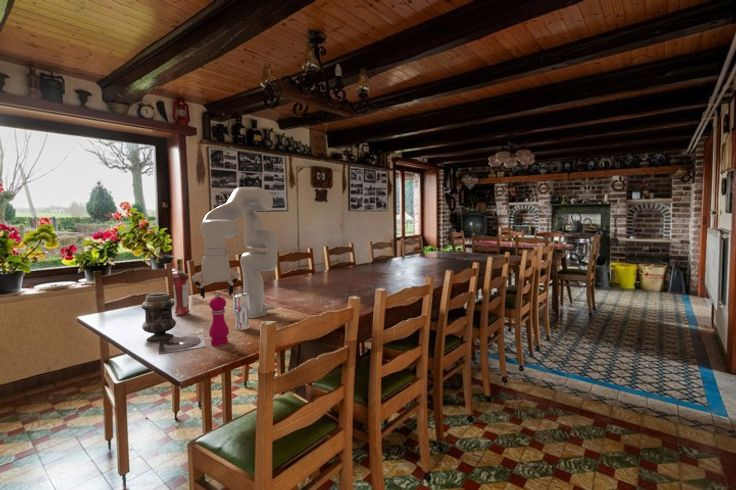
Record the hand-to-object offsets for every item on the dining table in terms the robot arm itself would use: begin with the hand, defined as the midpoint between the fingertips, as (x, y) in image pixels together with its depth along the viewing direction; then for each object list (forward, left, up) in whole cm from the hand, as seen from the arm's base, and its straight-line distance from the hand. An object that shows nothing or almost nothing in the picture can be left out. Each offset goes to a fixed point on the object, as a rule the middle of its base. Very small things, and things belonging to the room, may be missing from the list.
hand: (217, 296), depth 150 cm
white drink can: (-11, -16, -19) cm, 28 cm away
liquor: (+12, -54, -19) cm, 59 cm away
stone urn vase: (+21, -17, -19) cm, 33 cm away
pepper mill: (0, 0, -19) cm, 19 cm away
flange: (+13, -6, -19) cm, 24 cm away
